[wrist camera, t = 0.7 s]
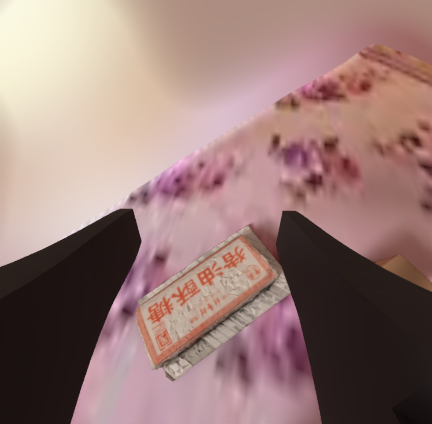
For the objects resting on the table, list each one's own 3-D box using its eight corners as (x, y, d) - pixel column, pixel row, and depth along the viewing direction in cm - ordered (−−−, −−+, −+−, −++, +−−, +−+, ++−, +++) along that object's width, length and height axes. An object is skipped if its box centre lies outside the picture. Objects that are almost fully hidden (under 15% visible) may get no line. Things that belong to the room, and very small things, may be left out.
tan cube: (411, 302, 22) (452, 302, 17) (375, 328, 21) (407, 334, 17) (372, 263, 24) (400, 253, 19) (339, 285, 23) (359, 281, 19)
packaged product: (154, 399, 18) (120, 300, 23) (173, 381, 23) (141, 301, 27) (306, 284, 20) (246, 213, 24) (296, 287, 24) (247, 227, 29)
